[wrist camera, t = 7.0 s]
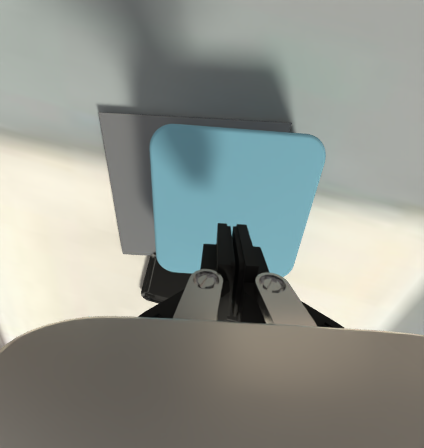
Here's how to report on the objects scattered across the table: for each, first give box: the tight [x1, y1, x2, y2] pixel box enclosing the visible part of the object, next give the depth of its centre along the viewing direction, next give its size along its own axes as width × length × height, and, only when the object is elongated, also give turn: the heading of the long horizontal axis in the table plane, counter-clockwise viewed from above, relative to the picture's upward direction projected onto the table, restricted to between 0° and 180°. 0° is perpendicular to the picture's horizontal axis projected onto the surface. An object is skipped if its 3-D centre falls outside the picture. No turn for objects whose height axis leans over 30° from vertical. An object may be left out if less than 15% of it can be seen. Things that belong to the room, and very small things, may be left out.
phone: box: [141, 252, 237, 322], centre depth 25 cm, size 8×1×15 cm
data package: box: [150, 124, 326, 277], centre depth 17 cm, size 12×4×12 cm
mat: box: [99, 113, 292, 256], centre depth 20 cm, size 16×14×1 cm
